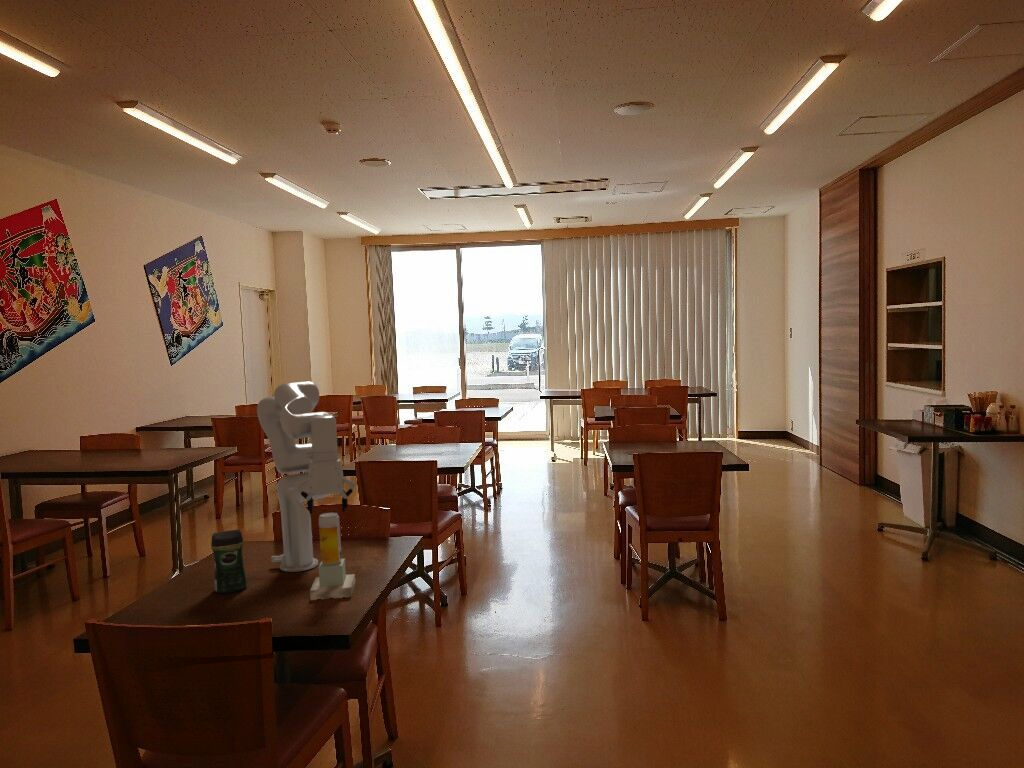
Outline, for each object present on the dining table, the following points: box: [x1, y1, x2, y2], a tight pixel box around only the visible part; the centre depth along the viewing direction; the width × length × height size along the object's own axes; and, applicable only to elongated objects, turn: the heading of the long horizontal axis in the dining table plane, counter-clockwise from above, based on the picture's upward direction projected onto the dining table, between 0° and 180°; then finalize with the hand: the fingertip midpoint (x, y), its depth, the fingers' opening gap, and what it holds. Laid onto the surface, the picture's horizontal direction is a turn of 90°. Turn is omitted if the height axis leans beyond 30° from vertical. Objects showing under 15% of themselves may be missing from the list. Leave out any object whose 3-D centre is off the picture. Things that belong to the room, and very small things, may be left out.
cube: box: [318, 558, 347, 587], centre depth 226 cm, size 7×7×6 cm
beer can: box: [318, 512, 343, 565], centre depth 225 cm, size 6×6×15 cm
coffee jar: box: [210, 529, 248, 594], centre depth 232 cm, size 10×8×19 cm
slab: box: [309, 573, 356, 601], centre depth 226 cm, size 12×12×3 cm
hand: (328, 511), depth 225 cm, fingers open, 9 cm apart
